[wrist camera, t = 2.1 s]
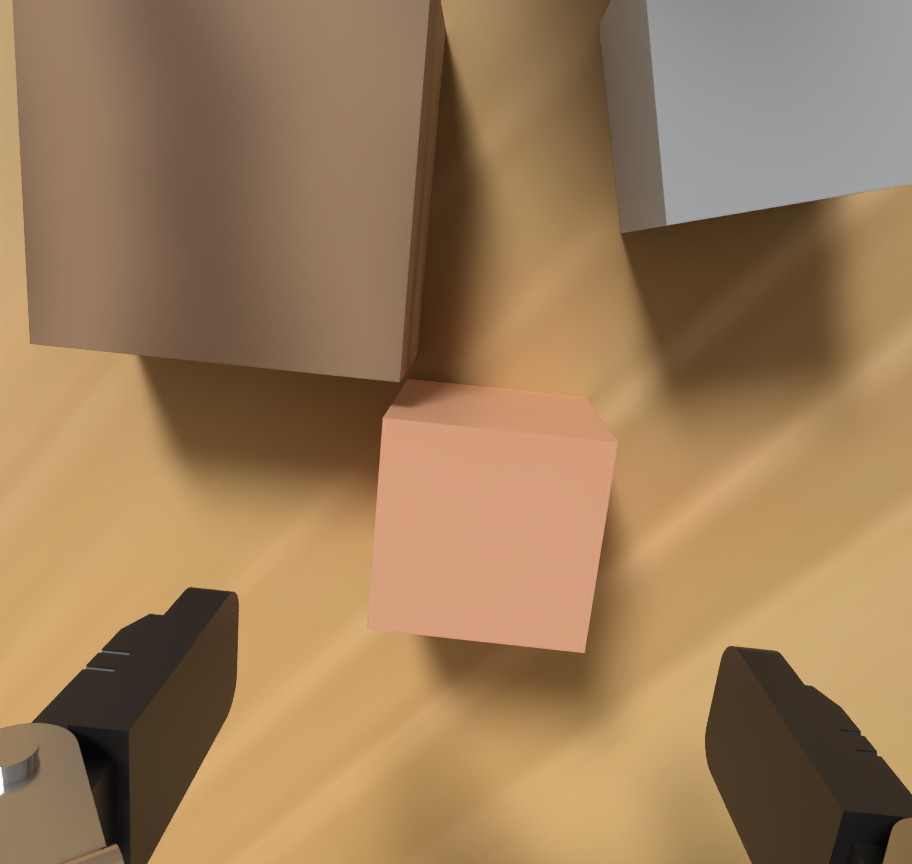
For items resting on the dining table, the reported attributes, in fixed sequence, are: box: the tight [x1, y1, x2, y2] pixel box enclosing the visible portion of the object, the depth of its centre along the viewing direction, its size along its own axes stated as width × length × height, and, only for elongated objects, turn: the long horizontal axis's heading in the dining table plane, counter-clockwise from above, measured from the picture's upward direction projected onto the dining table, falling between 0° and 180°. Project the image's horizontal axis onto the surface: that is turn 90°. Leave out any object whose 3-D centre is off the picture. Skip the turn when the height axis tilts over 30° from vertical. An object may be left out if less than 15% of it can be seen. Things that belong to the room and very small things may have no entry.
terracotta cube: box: [367, 379, 618, 653], centre depth 20 cm, size 6×6×6 cm
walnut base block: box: [13, 0, 446, 382], centre depth 18 cm, size 9×9×5 cm
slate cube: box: [599, 0, 912, 233], centre depth 17 cm, size 6×6×6 cm
